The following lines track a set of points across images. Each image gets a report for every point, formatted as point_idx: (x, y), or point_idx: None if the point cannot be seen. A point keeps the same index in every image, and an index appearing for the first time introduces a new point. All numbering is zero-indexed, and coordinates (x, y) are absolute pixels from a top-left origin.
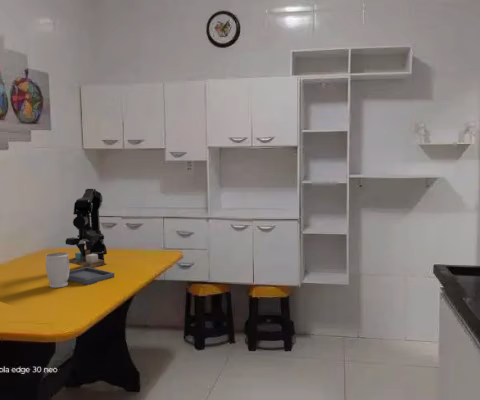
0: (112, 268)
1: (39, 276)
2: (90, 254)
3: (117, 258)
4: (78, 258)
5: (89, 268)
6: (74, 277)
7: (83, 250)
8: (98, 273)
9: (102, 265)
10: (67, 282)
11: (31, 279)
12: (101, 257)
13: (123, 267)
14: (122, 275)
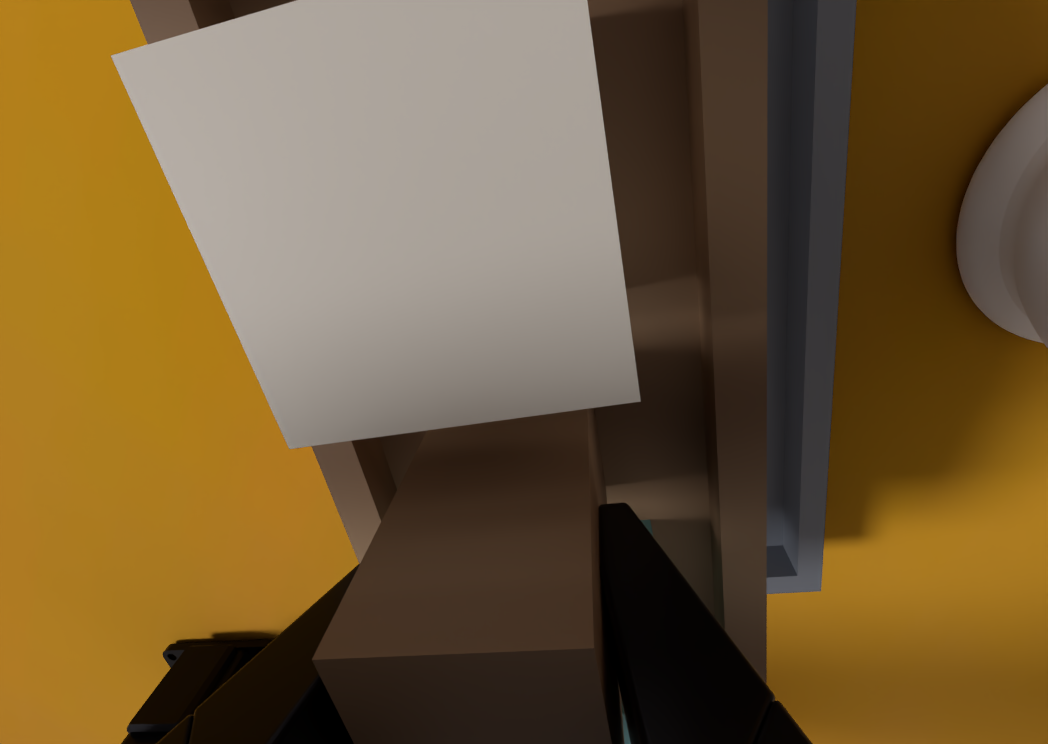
0: (140, 490)
1: (876, 734)
2: (433, 355)
3: (41, 738)
4: None
5: None
6: (836, 249)
7: (724, 704)
8: None
9: (214, 642)
10: (1041, 131)
11: (1013, 704)
12: (156, 734)
13: (10, 438)
14: (62, 19)
